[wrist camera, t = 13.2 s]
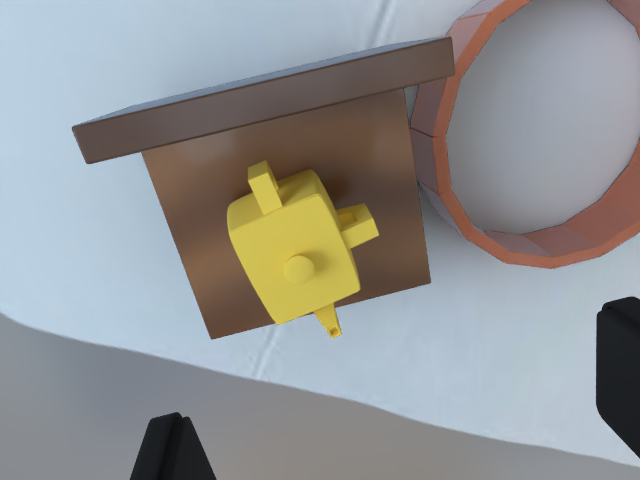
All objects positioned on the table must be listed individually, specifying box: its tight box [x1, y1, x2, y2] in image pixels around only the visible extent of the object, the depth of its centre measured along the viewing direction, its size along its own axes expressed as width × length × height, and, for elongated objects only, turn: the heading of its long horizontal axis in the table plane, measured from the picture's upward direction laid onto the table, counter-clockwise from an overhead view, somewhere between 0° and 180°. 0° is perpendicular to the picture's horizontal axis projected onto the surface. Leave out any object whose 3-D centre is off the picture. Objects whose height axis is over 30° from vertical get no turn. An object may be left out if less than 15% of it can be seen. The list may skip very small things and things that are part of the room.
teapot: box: [227, 160, 379, 338], centre depth 20 cm, size 8×6×5 cm
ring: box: [410, 0, 640, 269], centre depth 27 cm, size 17×17×4 cm
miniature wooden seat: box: [72, 36, 455, 339], centre depth 22 cm, size 12×12×13 cm
